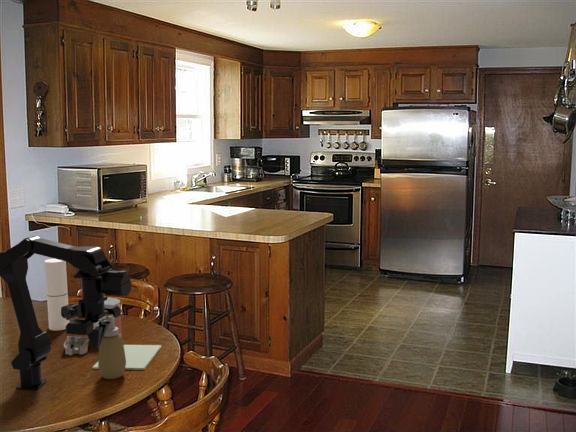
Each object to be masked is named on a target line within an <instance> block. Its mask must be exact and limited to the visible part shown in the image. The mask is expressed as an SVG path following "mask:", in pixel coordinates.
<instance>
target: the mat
mask: <svg viewBox="0 0 576 432" xmlns="http://www.w3.org/2000/svg"><path fill="white" fill-rule="evenodd" d="M123 345H124V351H125V357H126V366H125V369H124V370H134V371H135V370H136V371H138V370H140V371H143V370H145V369H147V367H148V365H150V363H151V362H152V360H153V359H154V358H155V357H156V355H157V354H158V352H159V351H160V350H161V348H162V345H161V344H160V345H159V344H123ZM92 369H93V370H100V369H99V367H98V361H97V362H96V363H95V364H94V365H93V366H92Z"/></svg>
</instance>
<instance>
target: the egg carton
mask: <svg viewBox="0 0 576 432" xmlns="http://www.w3.org/2000/svg"><path fill="white" fill-rule="evenodd" d="M83 336H84V335H74V336H71V335H67V337H66V339H65V341H64V343H63V347H64V351H65V355H68V356H73V355H75V354H79V355H84V354H86V353H87V354H88V349H89V348H88V347H89V342H90V340H89V338H88V336H85V337H83Z"/></svg>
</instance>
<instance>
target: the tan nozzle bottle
mask: <svg viewBox="0 0 576 432" xmlns="http://www.w3.org/2000/svg"><path fill="white" fill-rule="evenodd" d="M107 321H108V322H111V323H110V324H109V326H108V328H107V330H106V332H105V335H104V337H103V339H102V342H101V344H100V347H99V349H98V361H97V362H98V367H99V369H98V370H99V371H100V374H101V376H102V378H104V379H106V380H116V379H118V378H121V377H123V375H124V373H125V370H126V369H125V366H126V357H125V351H124V345H125V344H124V340H123V335H120V334H119V328H118V327H115V326H114V322H113V319H112V316H109V317H108V319H107Z"/></svg>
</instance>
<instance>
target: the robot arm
mask: <svg viewBox="0 0 576 432" xmlns="http://www.w3.org/2000/svg"><path fill="white" fill-rule="evenodd" d="M34 255H39V256H44V257H47V258H49V259H58V260H62V261H66V263H67V264H70V266H72V268H75V269H77V270H78V271H77V272H76V273H75V274H73V279H80V285H81V298H79V299H78V301H77V303H75V304H72V305H70V304H69V303H68V305H66V306H63V307H61V316H62V317H63V318H66V320H69V323H68V324H67V325H66V329H65V334H66V335H75V336H86V337H88V338H89V342H90V345H91V347H92V350H94V351H96V350H99V347H100V344H101V342H102V339H103V337H104V335H105V332H106V330H107V328H108V326H109V324H110V323H111V322H108V321H106V319H105V317H106V316H108V315H113V316H114V317H115V318H117V317H118V316H120V315H121V316H122V312H121V311H122V310H121V307H120V308H119V306H118V305H105V304H104V301H106V300H107V298H108V296H111V297H112V296H113V297H124V298H125V297H128V296H129V295H130V293H131V290H132V283H133V282H132V281H131V278H130V276H129V275H128V273H127V270H115V267H114V266H113V265H112V263H111V262H110V260H109V259H108V258H107V256H106V254H105V252H104V250H103V248H101V247H99V246H91V245H90V246H88V245H87V246H74V245H70V244H65V243H62V242H58V241H54V240H50V239H45V238H42V237H40V236H36V235H32V236H29V237H26V238H23V239H22V240H21V241H20V242H18V243H17V244H15V245H14V246H12V247H10V248H8V249H7V250H4V251H2V252H0V278H1V279H2V280H3V281H4V282H5V283H6V284H7V288H8V292H9V296H10V300H11V302H12V306H13V310H14V314H15V317H16V321H17V325H18V329H19V332H20V334H19V339H18V342H17V347H18V354H17V355H16V357H15V358H13V359H12V360H11V361H10V362H11V364H10V365H11V366H12V369H13V370H16V371H17V370H18V371H19V382H20V383H19V384H17V385H16V386H15V390H32V391H33V390H35V391H36V390H38V389H40V388H41V387H42V386H43V385H44V384H46V382H47V381H48V379H47V378H42V364H41V363H43V362H45V361H47V358H48V355H49V353H50V352H51V350H52V345H53V343H52V341H51V339H50V333H49V331H48V330H46V331H44V330H42V329H41V328H40V326H39V323H38V320H37V316H36V312H35V309H34V308H35V307H34V305H33V301H32V297H31V293H30V290H29V286H28V282H27V275H28V274H27V273H28V271H29V262H28V260H29V259H30V258H31V257H33V256H34ZM73 318H77V319H73ZM71 319H73V320H72V321H70V320H71Z"/></svg>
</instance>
